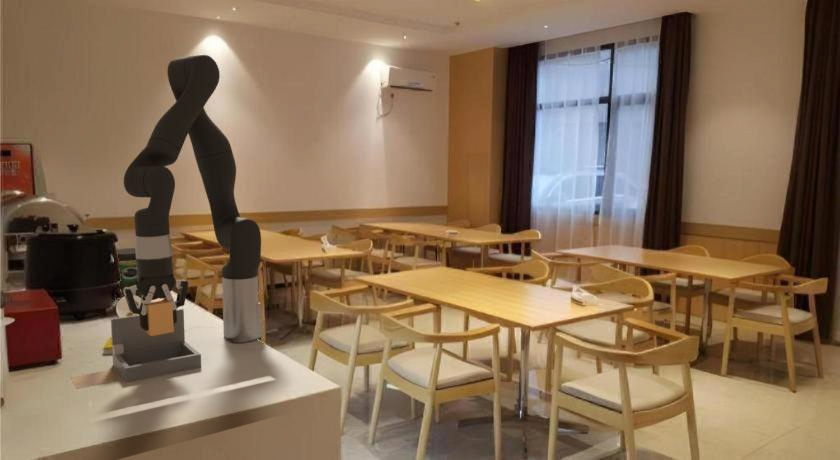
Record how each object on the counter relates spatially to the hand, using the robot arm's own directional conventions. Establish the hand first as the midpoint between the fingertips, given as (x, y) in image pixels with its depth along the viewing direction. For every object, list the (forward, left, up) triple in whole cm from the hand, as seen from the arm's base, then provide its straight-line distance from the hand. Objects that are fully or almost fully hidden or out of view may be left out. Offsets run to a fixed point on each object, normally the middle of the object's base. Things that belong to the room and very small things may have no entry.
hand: (158, 327), depth 137 cm
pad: (+14, 0, -10) cm, 17 cm away
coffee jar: (-9, -72, -11) cm, 74 cm away
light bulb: (0, -30, -10) cm, 32 cm away
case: (+1, 0, -10) cm, 10 cm away
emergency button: (+2, -19, -11) cm, 22 cm away
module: (0, 0, -1) cm, 1 cm away
